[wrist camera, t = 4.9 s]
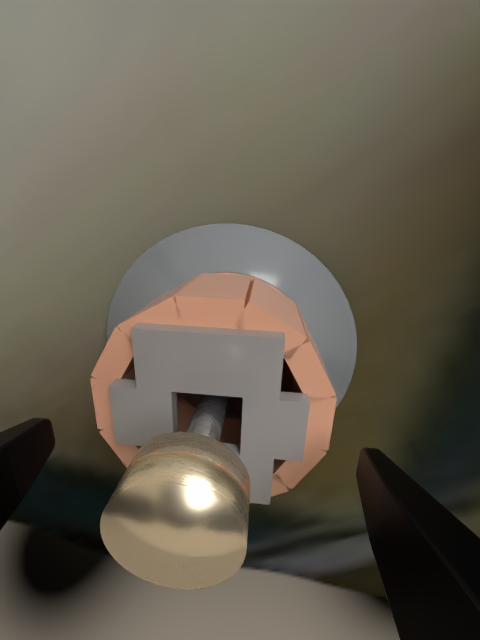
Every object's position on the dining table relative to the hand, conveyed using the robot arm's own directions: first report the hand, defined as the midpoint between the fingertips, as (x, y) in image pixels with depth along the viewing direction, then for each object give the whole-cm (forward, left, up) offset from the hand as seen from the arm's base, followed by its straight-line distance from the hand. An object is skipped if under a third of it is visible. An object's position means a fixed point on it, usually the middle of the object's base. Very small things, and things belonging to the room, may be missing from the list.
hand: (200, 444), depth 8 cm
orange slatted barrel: (0, 0, -6) cm, 6 cm away
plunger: (0, 0, -5) cm, 5 cm away
